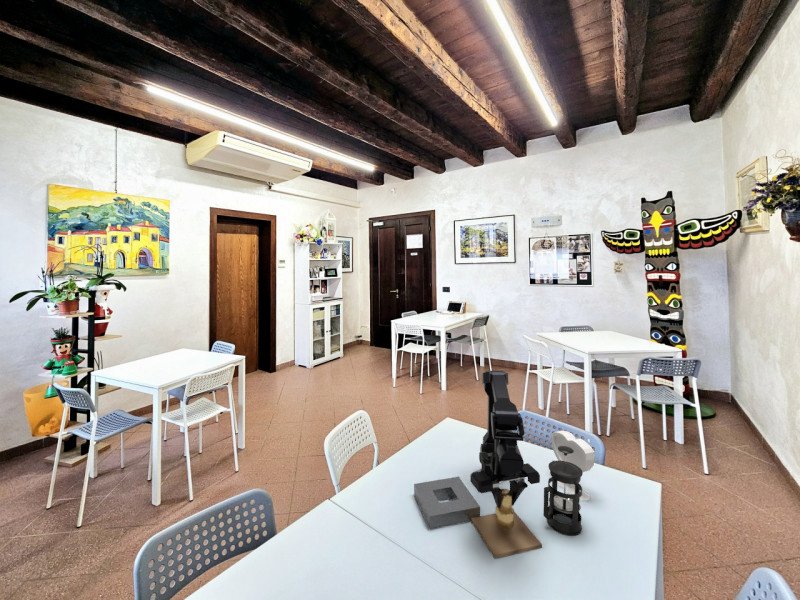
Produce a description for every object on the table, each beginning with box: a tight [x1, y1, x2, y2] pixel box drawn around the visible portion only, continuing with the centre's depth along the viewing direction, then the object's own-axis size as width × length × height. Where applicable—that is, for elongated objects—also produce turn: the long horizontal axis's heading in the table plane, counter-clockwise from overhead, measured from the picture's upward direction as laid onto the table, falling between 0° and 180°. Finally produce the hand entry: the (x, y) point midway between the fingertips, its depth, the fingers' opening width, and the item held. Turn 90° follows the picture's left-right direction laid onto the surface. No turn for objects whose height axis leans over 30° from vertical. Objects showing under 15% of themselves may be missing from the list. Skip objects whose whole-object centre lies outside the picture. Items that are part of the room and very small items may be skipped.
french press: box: [542, 446, 584, 537], centre depth 100 cm, size 12×9×23 cm
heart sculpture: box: [550, 430, 596, 501], centre depth 117 cm, size 16×5×18 cm, turn 17°
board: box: [470, 511, 543, 559], centre depth 98 cm, size 14×14×1 cm
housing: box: [413, 476, 481, 530], centre depth 109 cm, size 16×16×4 cm
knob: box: [495, 488, 515, 530], centre depth 97 cm, size 5×5×9 cm
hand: (504, 506), depth 97 cm, fingers closed on knob, 4 cm apart
